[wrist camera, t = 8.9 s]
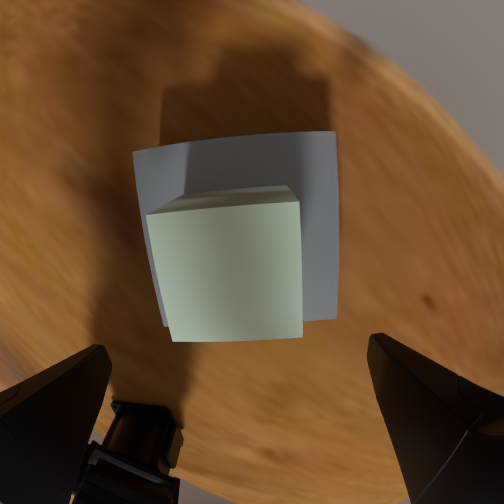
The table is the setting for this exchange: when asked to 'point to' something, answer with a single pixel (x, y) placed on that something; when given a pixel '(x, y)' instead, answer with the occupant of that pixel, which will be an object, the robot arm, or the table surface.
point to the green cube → (230, 264)
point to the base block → (257, 175)
